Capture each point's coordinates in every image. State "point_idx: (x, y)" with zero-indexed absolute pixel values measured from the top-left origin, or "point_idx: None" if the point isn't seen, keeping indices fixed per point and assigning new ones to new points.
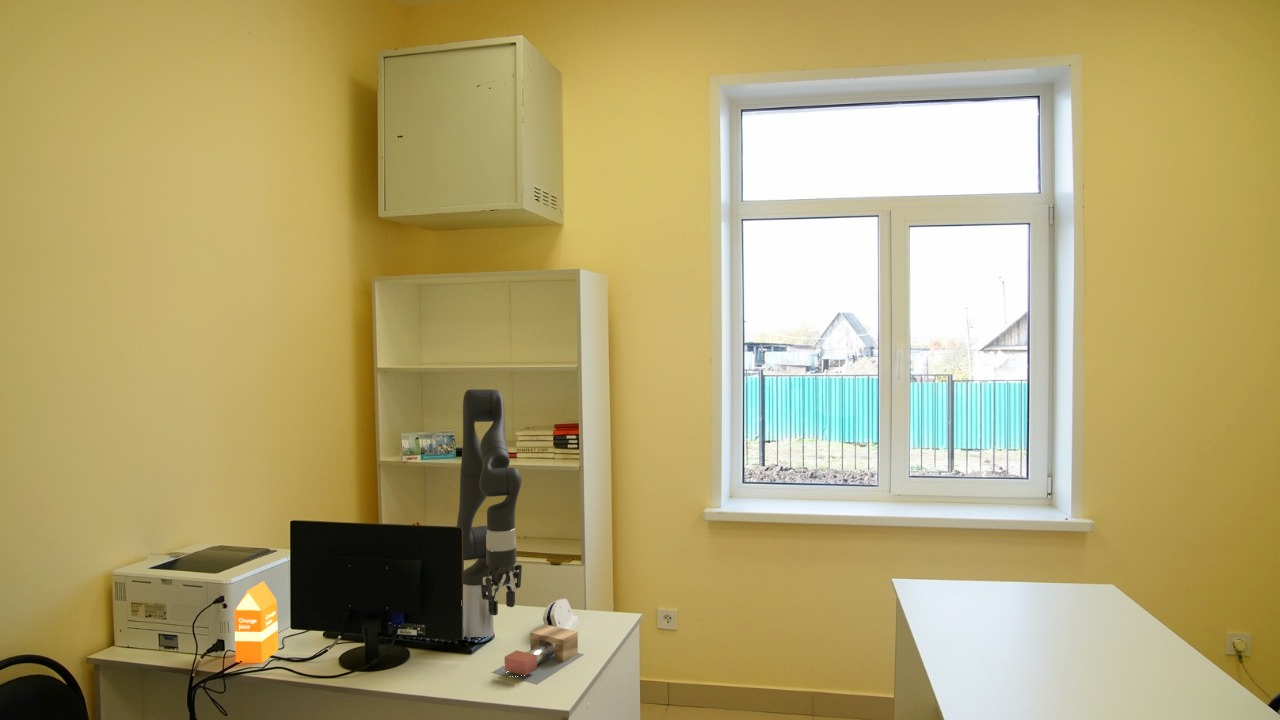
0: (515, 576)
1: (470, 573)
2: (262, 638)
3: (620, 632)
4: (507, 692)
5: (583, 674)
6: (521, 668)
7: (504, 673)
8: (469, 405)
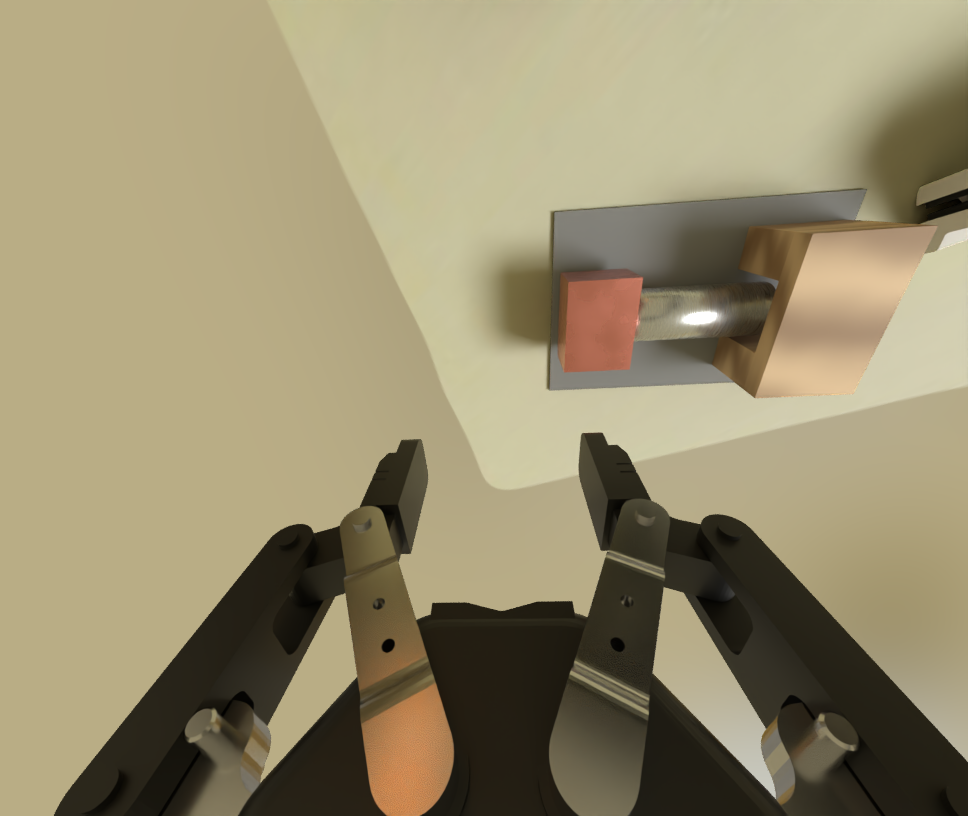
0: (755, 670)
1: None
2: None
3: None
4: (473, 353)
5: (656, 443)
6: (560, 348)
7: (567, 260)
8: None
